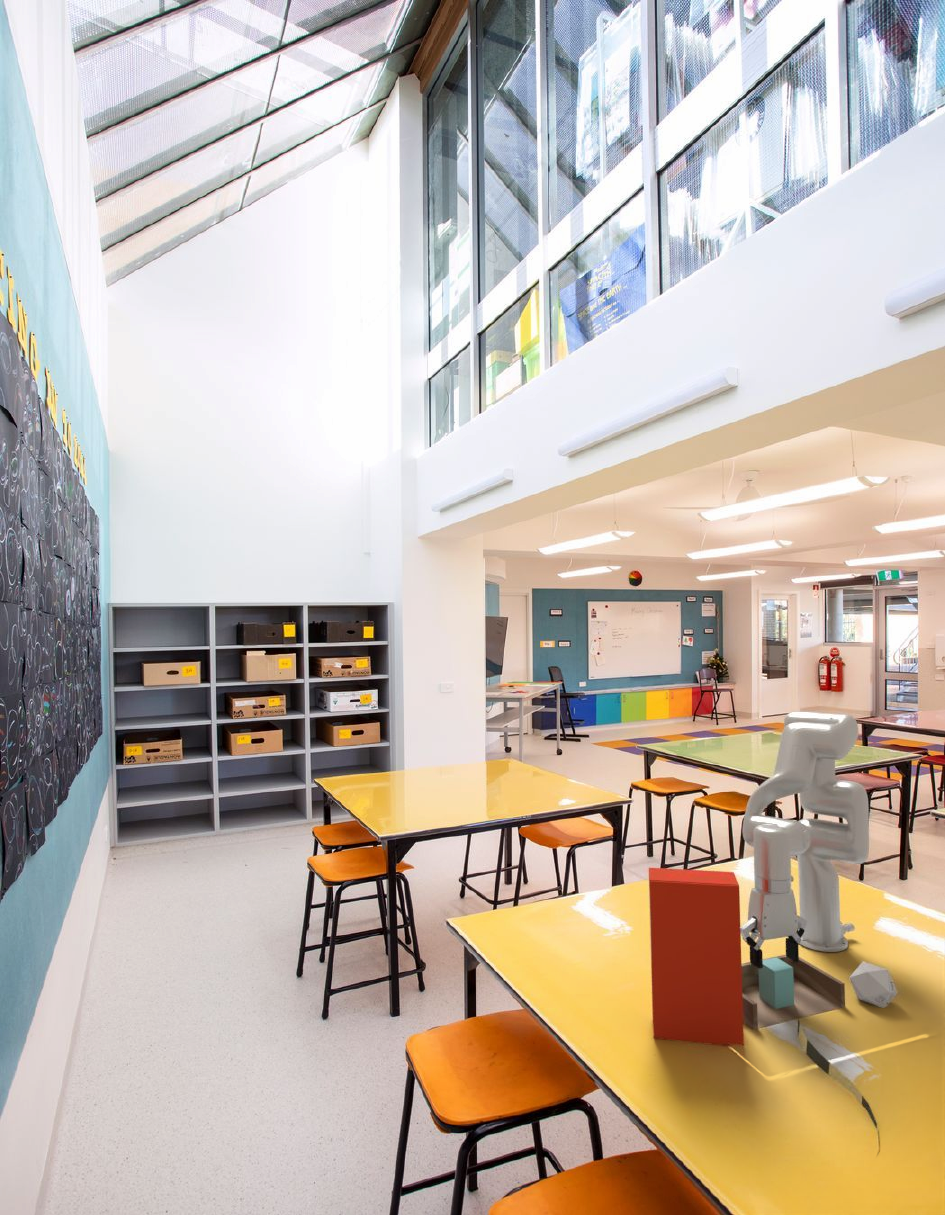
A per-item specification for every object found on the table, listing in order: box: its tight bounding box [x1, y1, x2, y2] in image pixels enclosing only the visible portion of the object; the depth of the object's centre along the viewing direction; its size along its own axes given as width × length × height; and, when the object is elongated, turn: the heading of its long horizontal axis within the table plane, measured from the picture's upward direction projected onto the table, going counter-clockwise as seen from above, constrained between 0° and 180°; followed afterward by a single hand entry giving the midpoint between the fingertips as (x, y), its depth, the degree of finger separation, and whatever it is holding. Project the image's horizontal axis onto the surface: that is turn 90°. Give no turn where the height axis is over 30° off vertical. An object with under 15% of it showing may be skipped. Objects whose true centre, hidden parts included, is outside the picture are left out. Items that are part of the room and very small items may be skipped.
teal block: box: [758, 956, 794, 1009], centre depth 155 cm, size 5×5×8 cm
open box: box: [741, 954, 846, 1030], centre depth 155 cm, size 24×15×6 cm, turn 108°
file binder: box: [648, 867, 745, 1047], centre depth 145 cm, size 8×17×32 cm, turn 77°
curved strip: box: [796, 1018, 880, 1143], centre depth 125 cm, size 6×39×4 cm, turn 170°
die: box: [848, 960, 899, 1009], centre depth 155 cm, size 8×9×10 cm
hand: (774, 962), depth 154 cm, fingers open, 9 cm apart
